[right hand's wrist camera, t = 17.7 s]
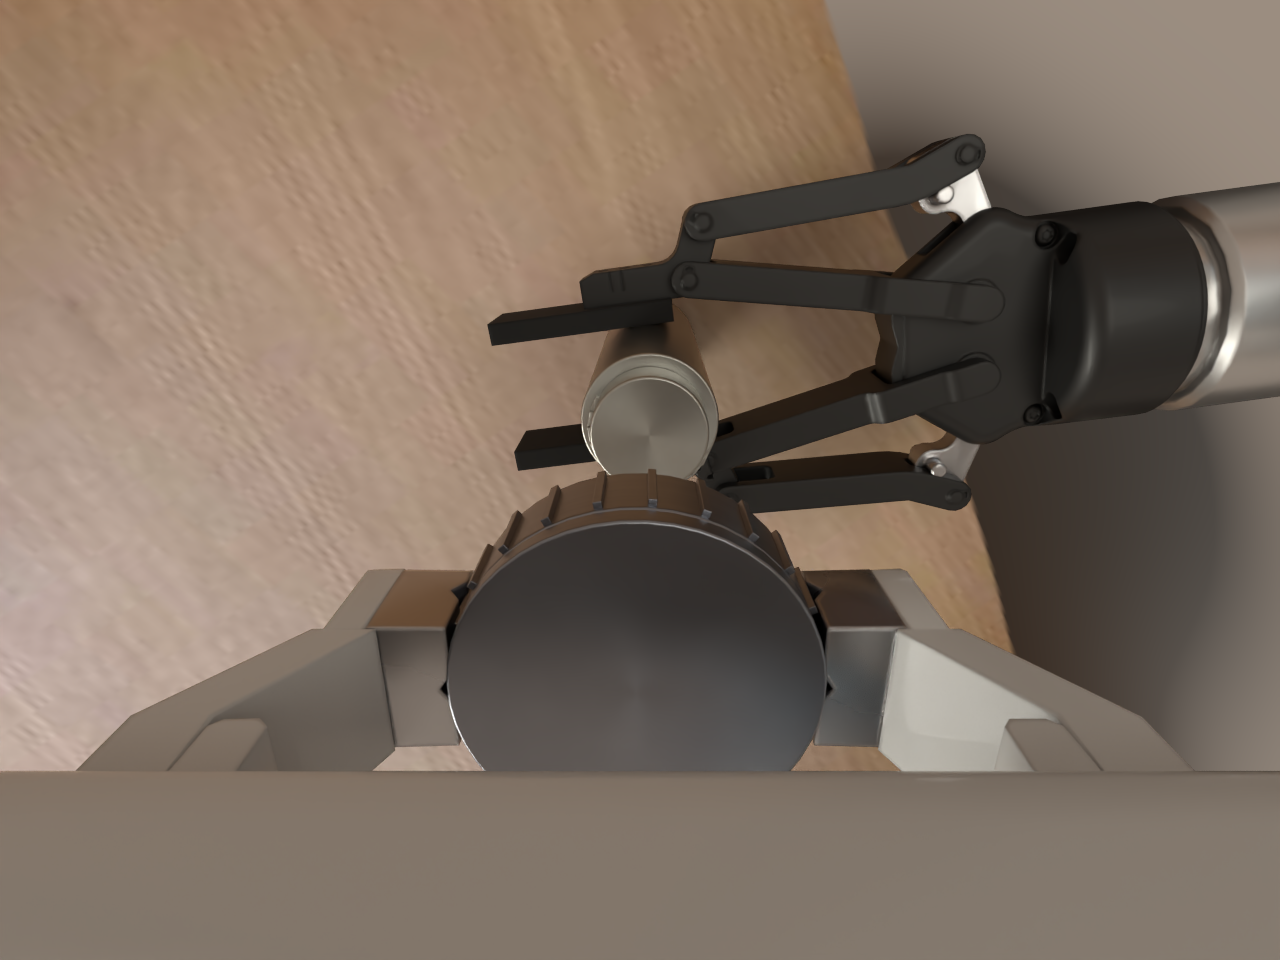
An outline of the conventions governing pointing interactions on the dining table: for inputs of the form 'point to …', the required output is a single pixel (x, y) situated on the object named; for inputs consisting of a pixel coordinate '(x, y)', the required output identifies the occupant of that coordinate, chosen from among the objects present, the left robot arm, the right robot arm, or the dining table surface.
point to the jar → (650, 402)
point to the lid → (636, 636)
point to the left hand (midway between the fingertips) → (511, 391)
